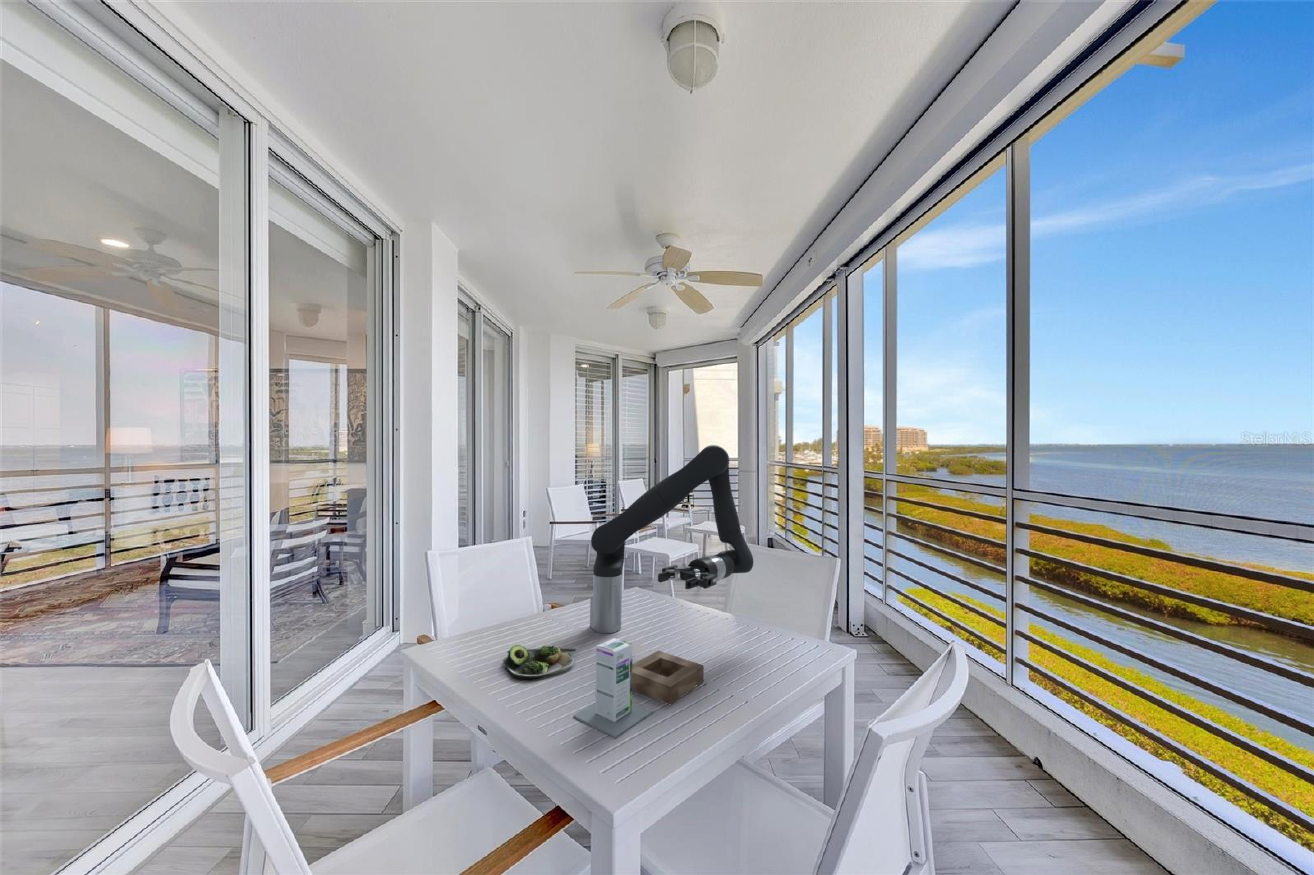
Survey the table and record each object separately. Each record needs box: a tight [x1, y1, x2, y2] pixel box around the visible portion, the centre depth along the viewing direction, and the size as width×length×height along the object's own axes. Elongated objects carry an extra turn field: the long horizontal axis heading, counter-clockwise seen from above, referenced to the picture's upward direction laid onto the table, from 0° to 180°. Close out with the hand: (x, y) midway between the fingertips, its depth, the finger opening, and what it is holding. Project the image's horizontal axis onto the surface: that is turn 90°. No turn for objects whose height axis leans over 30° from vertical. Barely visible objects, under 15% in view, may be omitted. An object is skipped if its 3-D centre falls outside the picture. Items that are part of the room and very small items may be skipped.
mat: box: [572, 701, 654, 740], centre depth 102 cm, size 12×12×1 cm
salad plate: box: [502, 644, 577, 682], centre depth 127 cm, size 19×18×5 cm
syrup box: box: [595, 637, 633, 722], centre depth 103 cm, size 6×6×14 cm
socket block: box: [632, 650, 705, 705], centre depth 116 cm, size 14×14×4 cm
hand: (672, 581), depth 120 cm, fingers open, 8 cm apart
